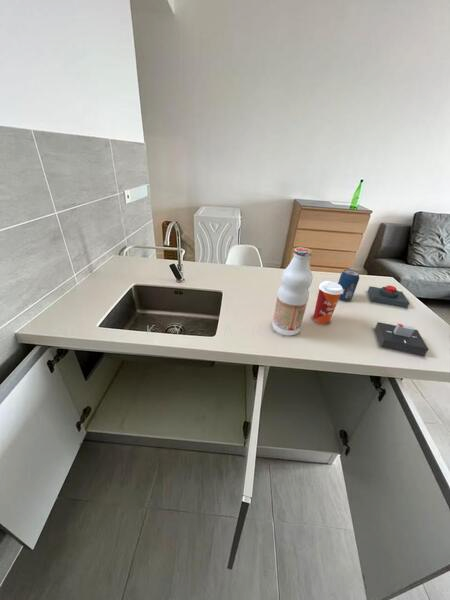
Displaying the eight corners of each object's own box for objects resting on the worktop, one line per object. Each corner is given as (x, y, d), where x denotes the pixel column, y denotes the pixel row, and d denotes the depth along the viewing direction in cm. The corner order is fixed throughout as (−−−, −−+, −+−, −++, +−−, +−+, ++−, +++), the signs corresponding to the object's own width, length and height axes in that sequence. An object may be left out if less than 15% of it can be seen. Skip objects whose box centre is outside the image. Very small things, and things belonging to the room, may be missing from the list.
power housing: (399, 296, 106) (404, 287, 104) (406, 308, 98) (411, 299, 96) (367, 291, 109) (371, 282, 107) (371, 302, 101) (375, 292, 99)
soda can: (339, 292, 107) (348, 267, 101) (354, 299, 103) (364, 273, 96) (330, 296, 104) (338, 270, 97) (345, 304, 99) (355, 277, 93)
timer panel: (413, 336, 83) (417, 329, 81) (424, 356, 74) (429, 348, 73) (374, 328, 85) (378, 321, 84) (380, 347, 77) (384, 339, 76)
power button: (393, 289, 103) (395, 286, 102) (395, 293, 100) (397, 290, 99) (384, 288, 104) (385, 284, 103) (386, 292, 101) (387, 288, 100)
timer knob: (408, 334, 78) (413, 326, 77) (410, 337, 77) (415, 329, 75) (393, 331, 80) (397, 323, 78) (394, 334, 78) (398, 325, 76)
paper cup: (320, 327, 85) (331, 292, 77) (306, 315, 90) (315, 282, 83) (337, 322, 87) (349, 288, 80) (322, 311, 93) (332, 279, 86)
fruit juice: (273, 335, 80) (289, 254, 65) (270, 318, 88) (284, 243, 73) (302, 337, 79) (324, 256, 65) (296, 320, 87) (315, 245, 73)
